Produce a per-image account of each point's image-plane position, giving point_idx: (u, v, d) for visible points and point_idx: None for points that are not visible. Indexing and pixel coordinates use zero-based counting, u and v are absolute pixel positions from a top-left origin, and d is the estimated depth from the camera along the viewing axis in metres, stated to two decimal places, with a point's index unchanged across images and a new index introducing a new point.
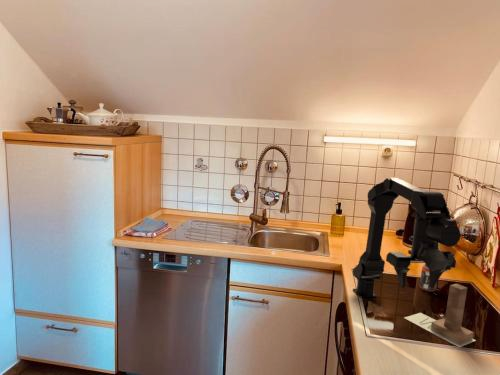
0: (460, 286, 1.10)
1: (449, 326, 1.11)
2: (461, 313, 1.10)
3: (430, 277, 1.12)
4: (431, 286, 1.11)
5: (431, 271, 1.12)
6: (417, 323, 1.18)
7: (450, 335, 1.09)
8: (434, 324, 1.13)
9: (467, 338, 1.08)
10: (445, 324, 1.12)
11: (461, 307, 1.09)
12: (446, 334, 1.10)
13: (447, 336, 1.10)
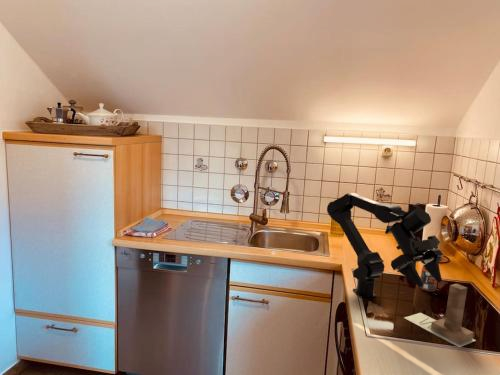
0: (460, 286, 1.10)
1: (449, 326, 1.11)
2: (461, 313, 1.10)
3: (433, 275, 1.21)
4: (439, 280, 1.19)
5: (430, 270, 1.22)
6: (417, 323, 1.18)
7: (450, 335, 1.09)
8: (434, 324, 1.13)
9: (467, 338, 1.08)
10: (445, 324, 1.12)
11: (461, 307, 1.09)
12: (446, 334, 1.10)
13: (447, 336, 1.10)
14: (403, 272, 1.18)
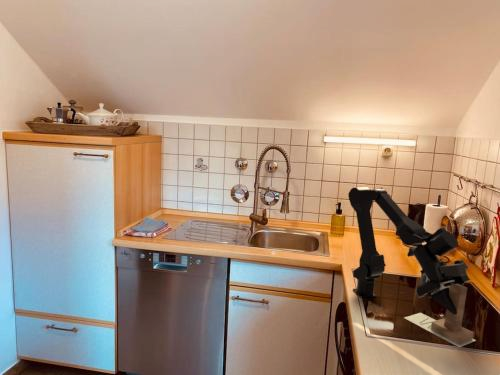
0: (460, 286, 1.10)
1: (449, 326, 1.11)
2: (461, 313, 1.10)
3: None
4: None
5: None
6: (417, 323, 1.18)
7: (450, 335, 1.09)
8: (434, 324, 1.13)
9: (467, 338, 1.08)
10: (445, 324, 1.12)
11: (461, 307, 1.09)
12: (446, 334, 1.10)
13: (447, 336, 1.10)
14: (435, 298, 1.12)
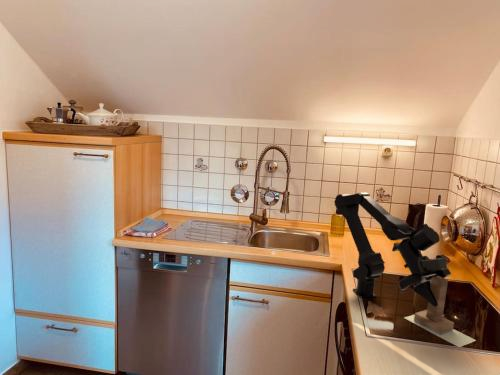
0: (441, 278, 1.15)
1: (431, 317, 1.16)
2: (442, 304, 1.15)
3: None
4: None
5: None
6: (417, 323, 1.18)
7: (431, 325, 1.14)
8: (417, 315, 1.18)
9: (448, 328, 1.13)
10: (427, 315, 1.17)
11: (442, 298, 1.14)
12: (428, 324, 1.15)
13: (429, 326, 1.15)
14: (417, 291, 1.17)
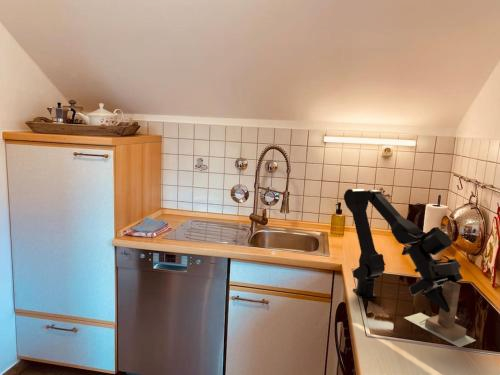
0: (453, 283, 1.11)
1: (443, 323, 1.12)
2: (454, 310, 1.12)
3: None
4: None
5: None
6: (417, 323, 1.18)
7: (443, 332, 1.11)
8: (428, 321, 1.15)
9: (460, 334, 1.10)
10: (439, 321, 1.13)
11: (455, 304, 1.11)
12: (440, 331, 1.12)
13: (441, 333, 1.11)
14: (428, 296, 1.14)
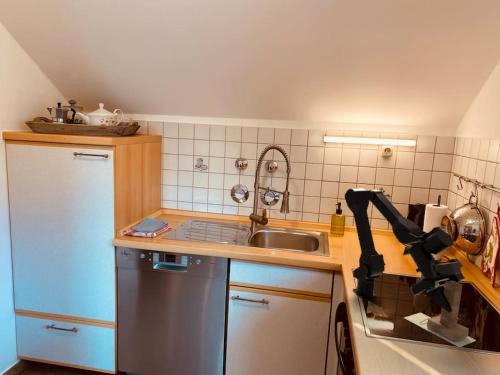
0: (455, 283, 1.11)
1: (445, 323, 1.12)
2: (456, 310, 1.11)
3: None
4: None
5: None
6: (417, 323, 1.18)
7: (446, 332, 1.10)
8: (430, 321, 1.14)
9: (462, 334, 1.09)
10: (441, 321, 1.13)
11: (457, 304, 1.11)
12: (442, 331, 1.11)
13: (443, 333, 1.11)
14: (430, 296, 1.13)
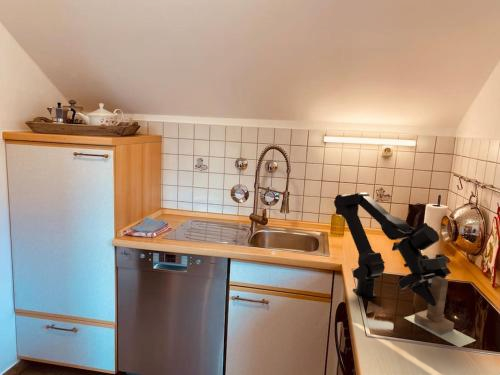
0: (441, 279, 1.15)
1: (431, 317, 1.16)
2: (442, 304, 1.15)
3: None
4: None
5: None
6: (417, 323, 1.18)
7: (432, 325, 1.14)
8: (417, 315, 1.18)
9: (448, 328, 1.13)
10: (427, 315, 1.17)
11: (443, 299, 1.14)
12: (428, 325, 1.15)
13: (429, 327, 1.15)
14: (415, 290, 1.17)
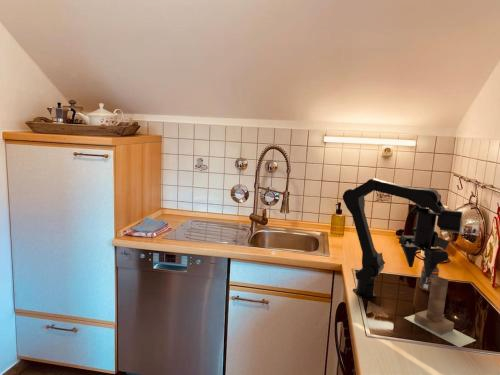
0: (441, 279, 1.15)
1: (431, 317, 1.16)
2: (442, 304, 1.15)
3: (409, 259, 1.33)
4: (411, 265, 1.33)
5: (408, 254, 1.32)
6: (417, 323, 1.18)
7: (432, 325, 1.14)
8: (417, 315, 1.18)
9: (448, 328, 1.13)
10: (427, 315, 1.17)
11: (443, 299, 1.14)
12: (428, 325, 1.15)
13: (429, 327, 1.15)
14: (428, 262, 1.21)
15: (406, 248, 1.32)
